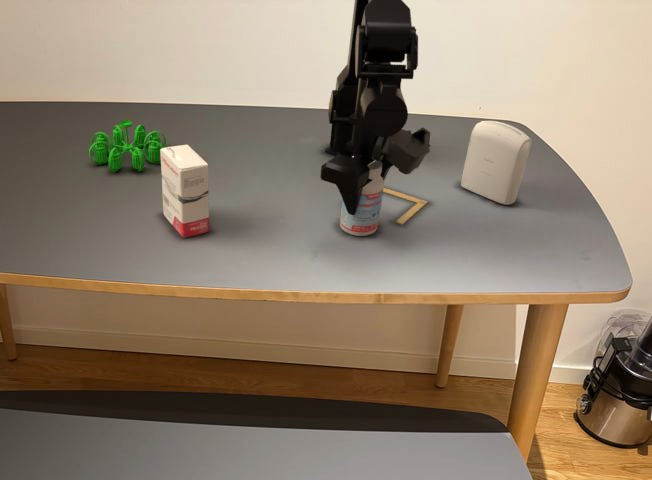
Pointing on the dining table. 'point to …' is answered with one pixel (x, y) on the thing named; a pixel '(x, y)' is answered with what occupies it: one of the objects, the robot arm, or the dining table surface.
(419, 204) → the tape outline
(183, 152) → the ink box
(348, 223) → the pill bottle
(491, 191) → the photo printer
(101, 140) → the chandelier
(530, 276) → the dining table surface
